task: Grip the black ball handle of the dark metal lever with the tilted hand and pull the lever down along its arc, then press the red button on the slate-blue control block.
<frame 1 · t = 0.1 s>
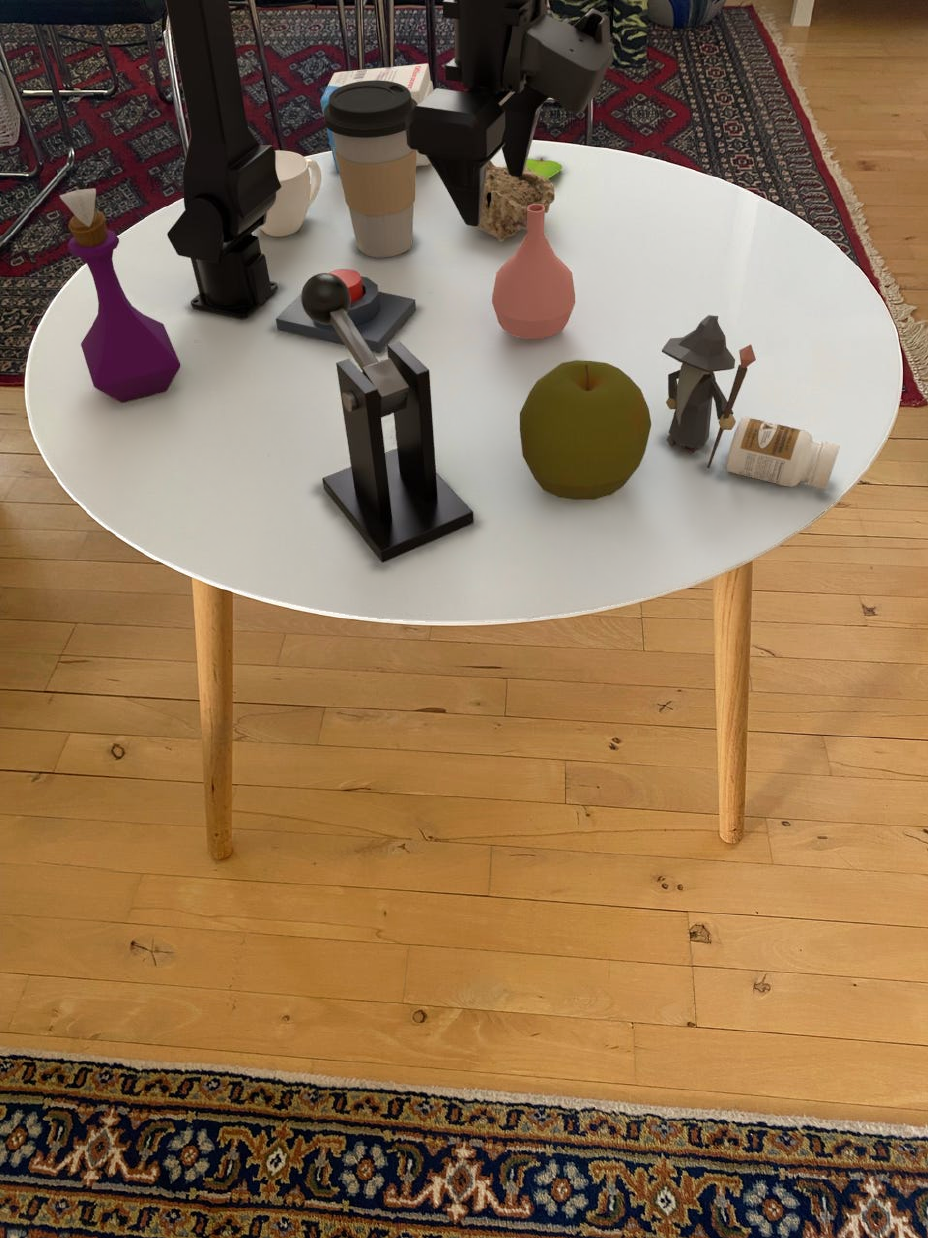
hand: (495, 199, 80), 15 cm above the table, tool pointing down, fingers open, 9 cm apart
cup: (289, 225, 109), on the table
lever: (353, 340, 71), point 12 cm above the table, hinge at 18.0°
bracket: (397, 506, 77), on the table
perfume bottle: (140, 387, 90), on the table
button: (343, 286, 93), point 3 cm above the table, slide at 0.1 cm
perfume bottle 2: (532, 333, 94), on the table
decorative leaf: (538, 190, 117), on the table
ink box: (333, 122, 117), point 4 cm above the table, touching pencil
coffee cup: (383, 246, 106), on the table
seashell: (504, 225, 108), on the table
wizard figurine: (698, 449, 81), on the table
control block: (347, 319, 96), on the table
apple: (579, 483, 79), on the table
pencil: (449, 160, 117), point 1 cm above the table, touching ink box
pill bottle: (730, 442, 78), point 2 cm above the table
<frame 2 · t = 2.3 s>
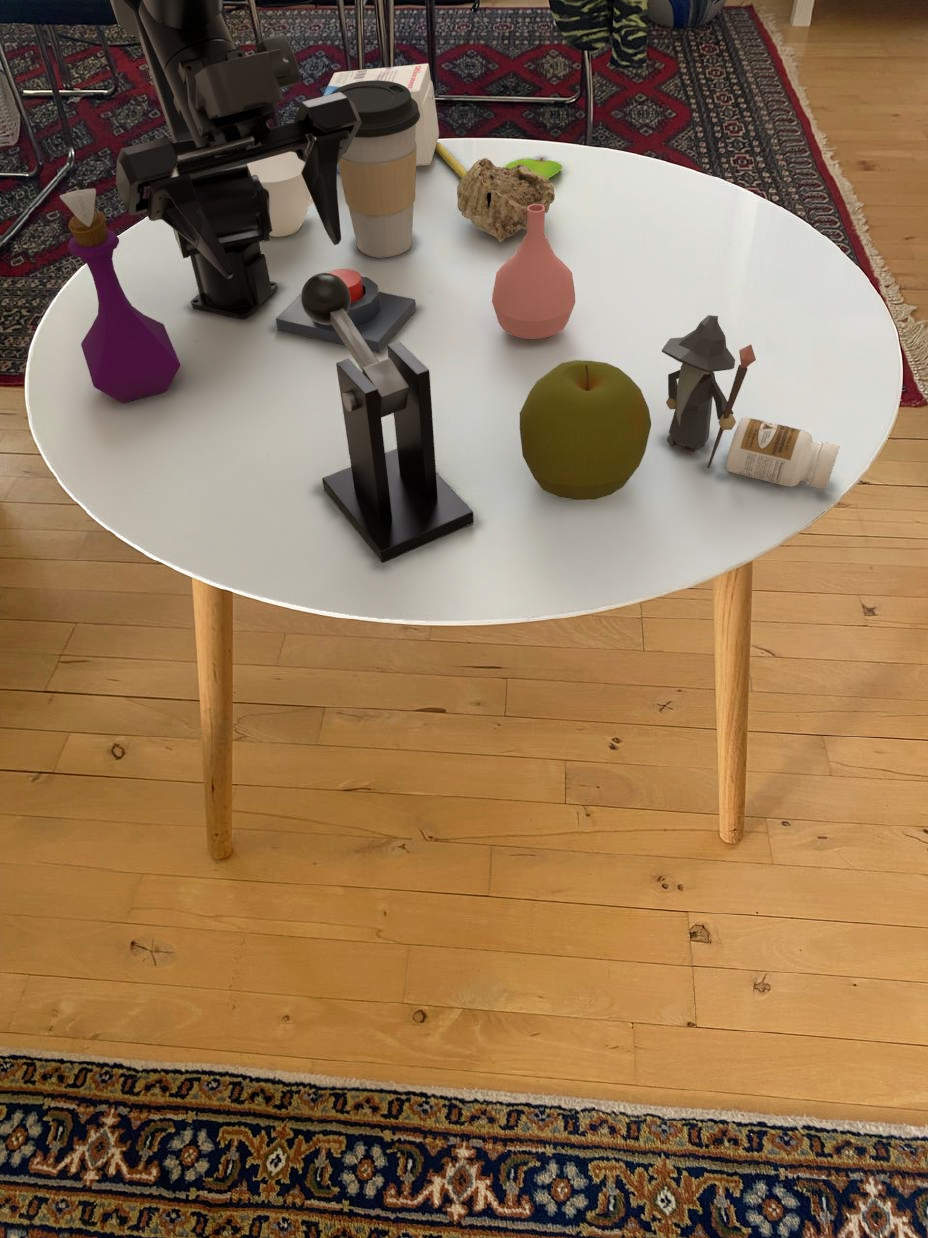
hand: (285, 259, 77), 13 cm above the table, tool tilted 45°, fingers open, 9 cm apart
nothing on the table moved.
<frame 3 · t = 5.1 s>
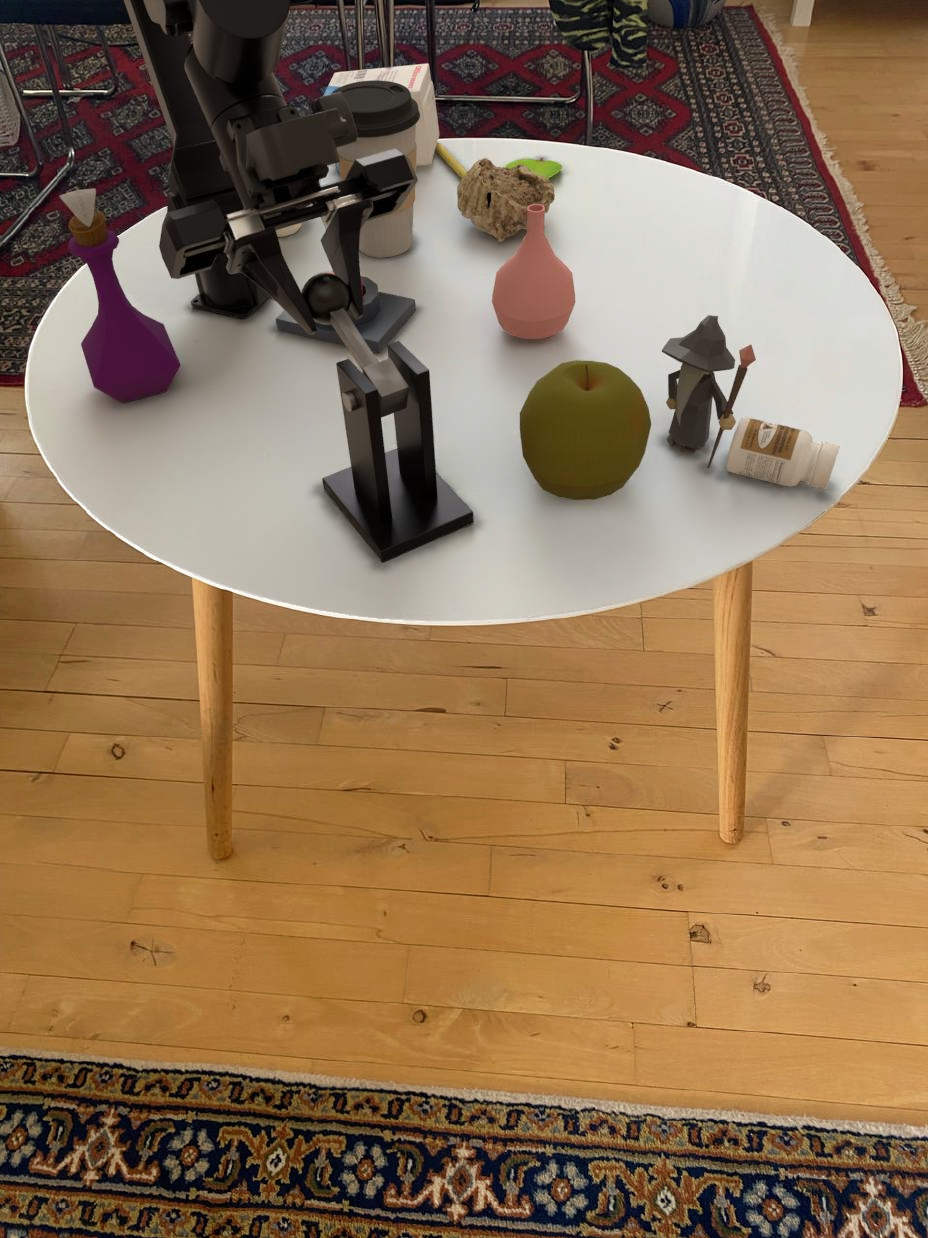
hand: (336, 324, 72), 12 cm above the table, tool tilted 45°, fingers closed on lever, 3 cm apart
lever: (353, 340, 71), point 12 cm above the table, hinge at 18.0°, touching gripper
everything else where it was.
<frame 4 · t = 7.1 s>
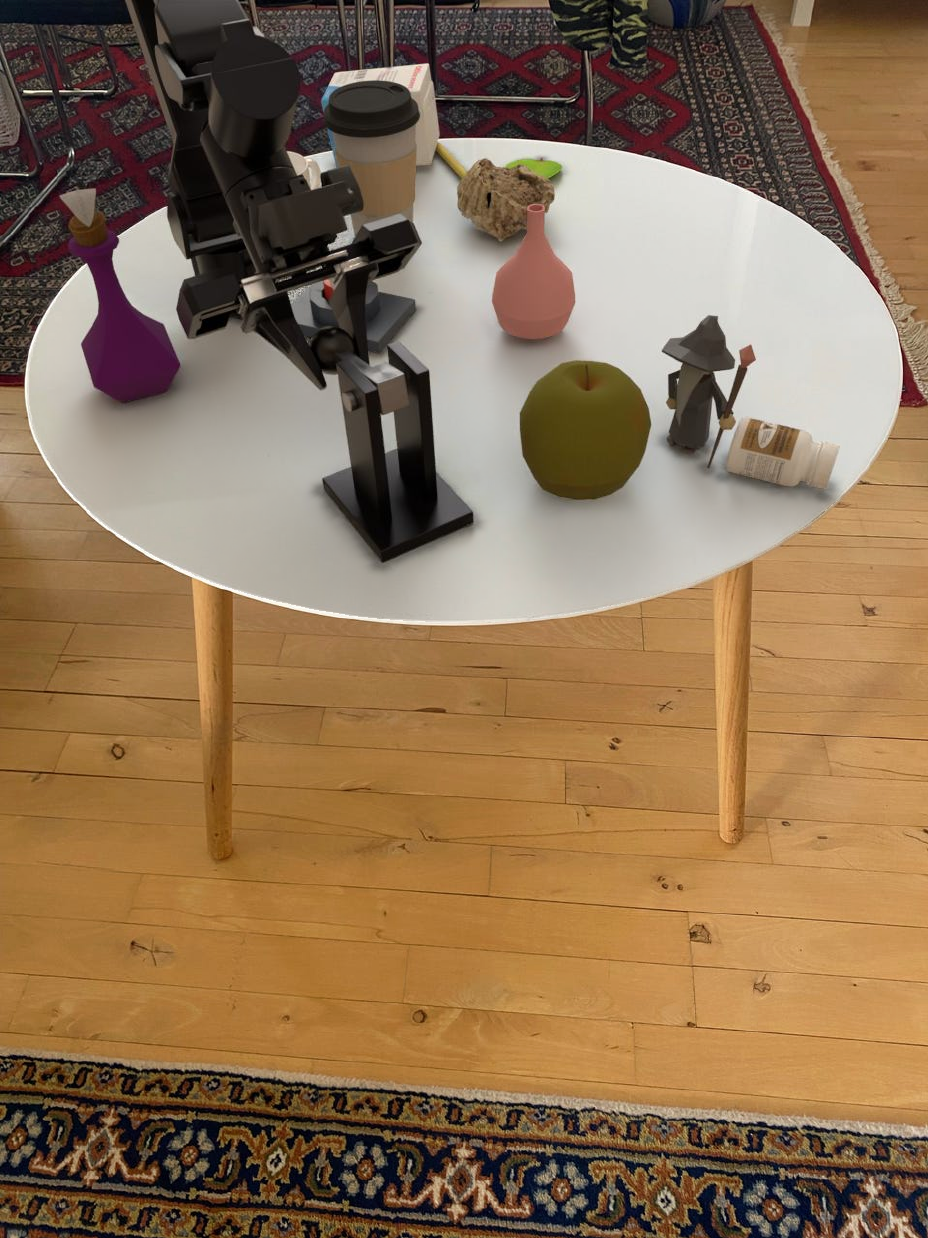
hand: (345, 380, 76), 8 cm above the table, tool tilted 45°, fingers closed on lever, 3 cm apart
lever: (356, 367, 73), point 10 cm above the table, hinge at -11.1°, touching gripper
everything else where it was.
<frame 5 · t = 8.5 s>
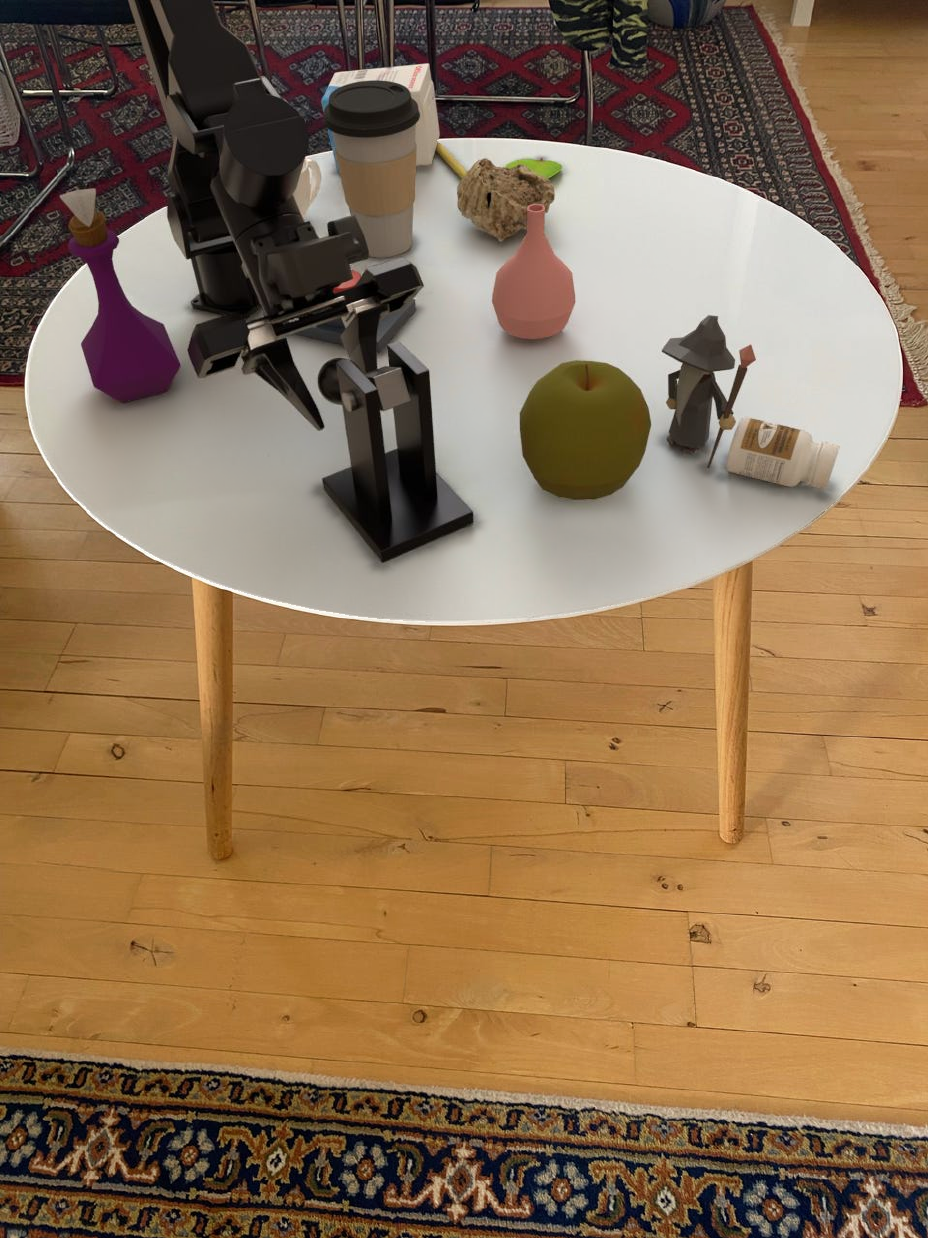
hand: (349, 418, 79), 4 cm above the table, tool tilted 45°, fingers open, 5 cm apart
lever: (360, 384, 73), point 9 cm above the table, hinge at -26.7°
everything else where it was.
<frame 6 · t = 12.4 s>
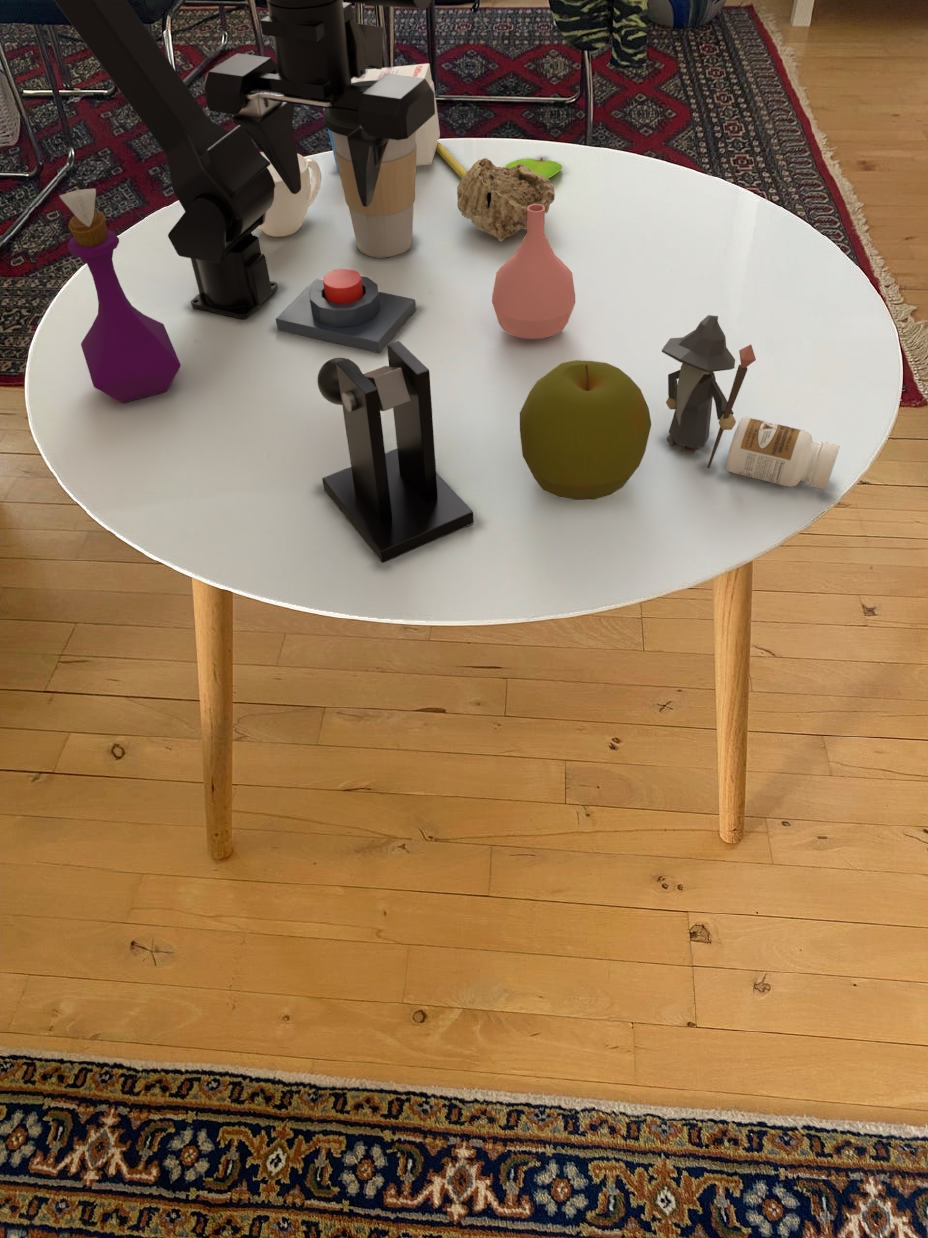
hand: (331, 198, 87), 12 cm above the table, tool pointing down, fingers open, 7 cm apart
nothing on the table moved.
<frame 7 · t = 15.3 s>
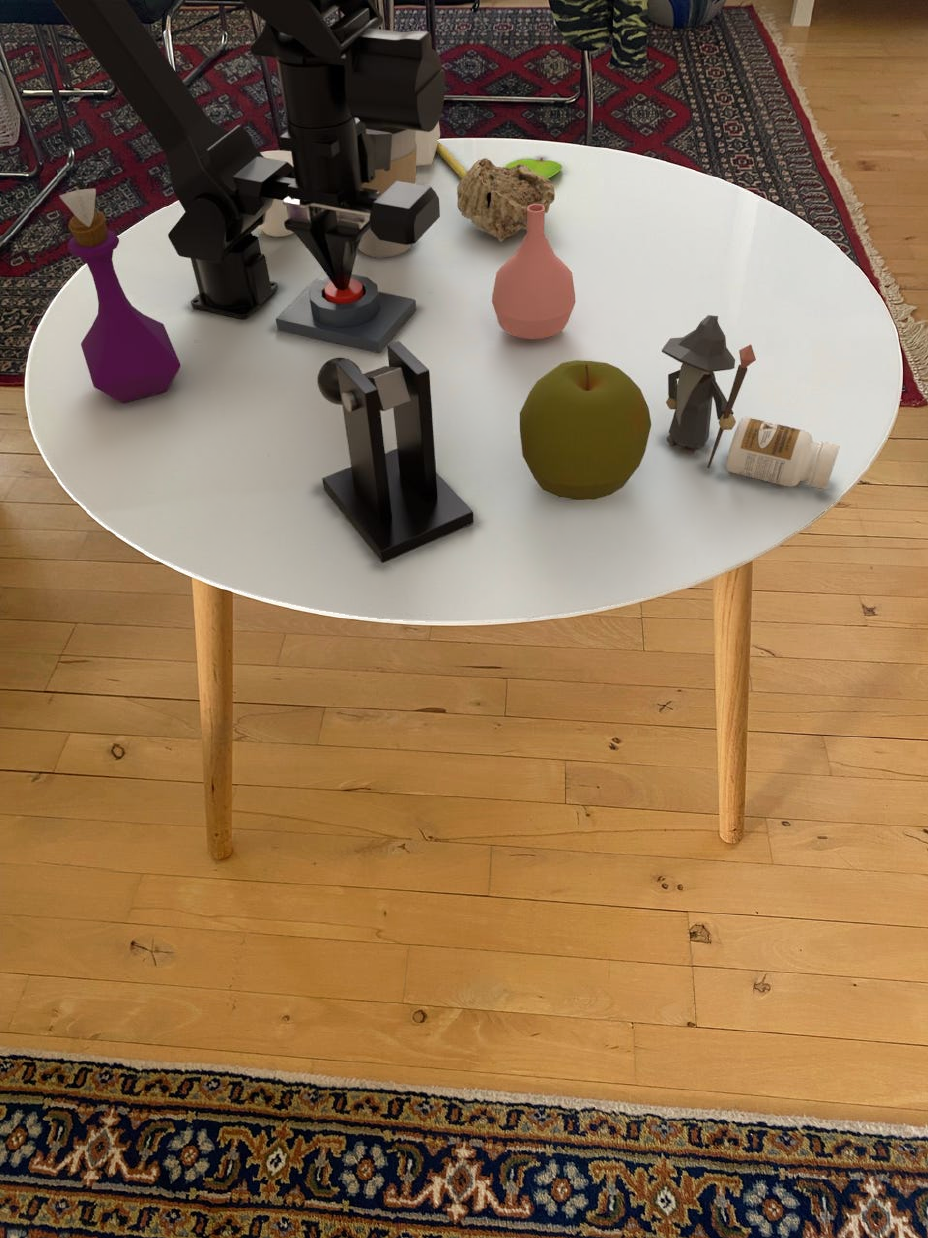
hand: (342, 287, 93), 3 cm above the table, tool pointing down, fingers closed, pressing on button
button: (344, 295, 94), point 3 cm above the table, slide at -0.8 cm, touching gripper
everything else where it was.
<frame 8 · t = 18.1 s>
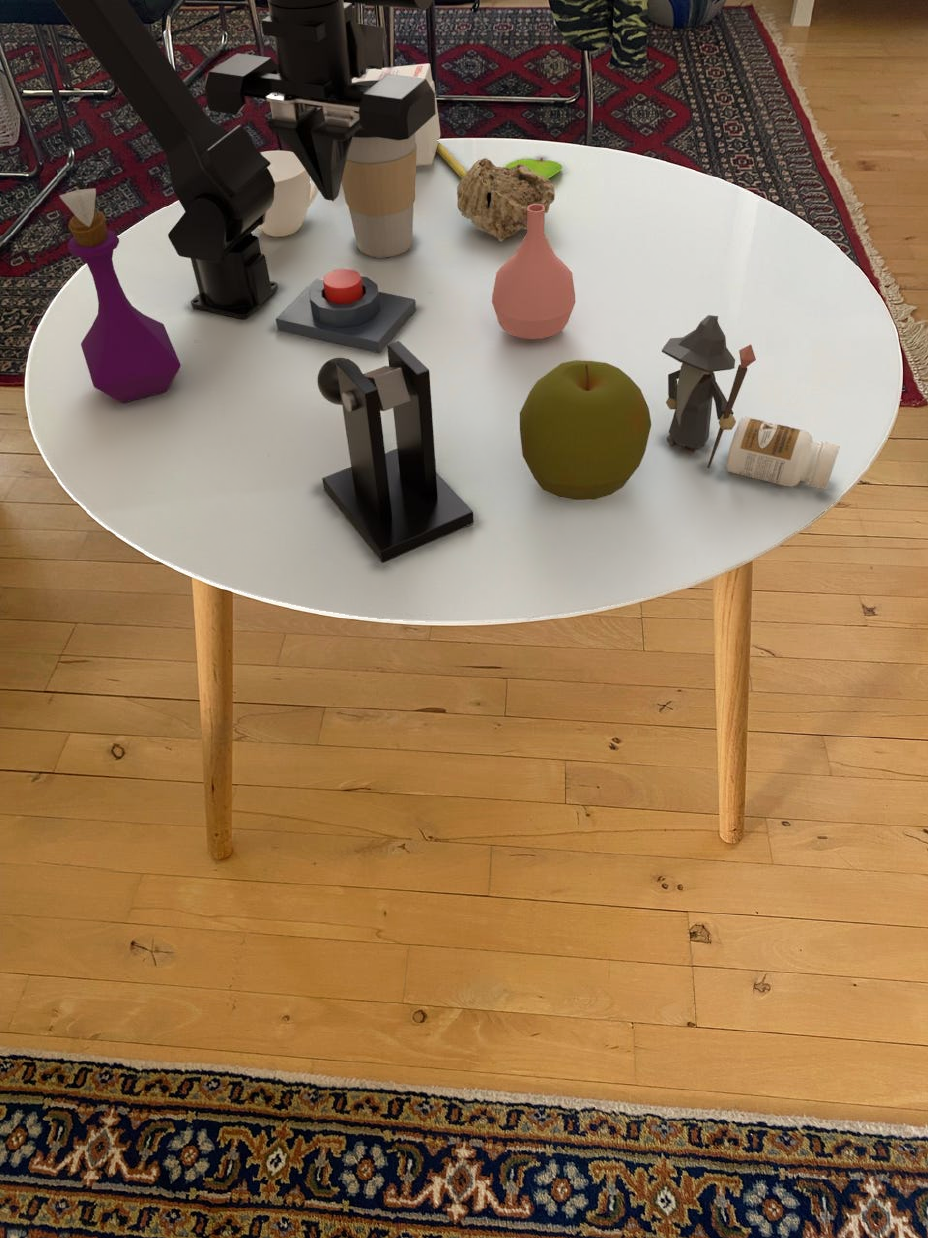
hand: (331, 198, 87), 12 cm above the table, tool pointing down, fingers closed
button: (343, 286, 93), point 3 cm above the table, slide at 0.1 cm
everything else where it was.
at the end: lever at -27° (first picture: +18°); button pushed in 1.2 cm at the most during the clip, back to where it started at the end; button slide at 0.1 cm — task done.
